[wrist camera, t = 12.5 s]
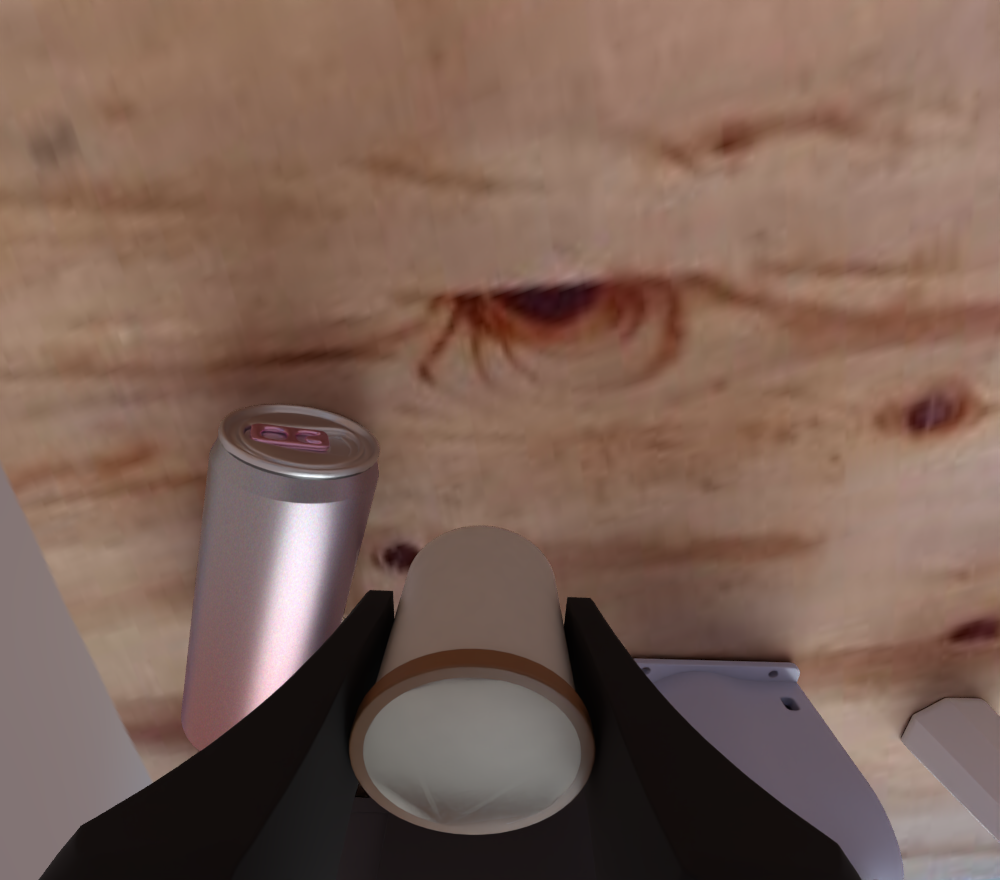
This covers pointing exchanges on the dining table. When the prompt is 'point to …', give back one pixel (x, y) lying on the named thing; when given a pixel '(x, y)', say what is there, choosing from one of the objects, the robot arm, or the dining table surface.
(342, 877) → the drawer
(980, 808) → the pepper shaker
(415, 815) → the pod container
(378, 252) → the dining table surface
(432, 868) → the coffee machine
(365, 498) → the beverage can
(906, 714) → the dining table surface
